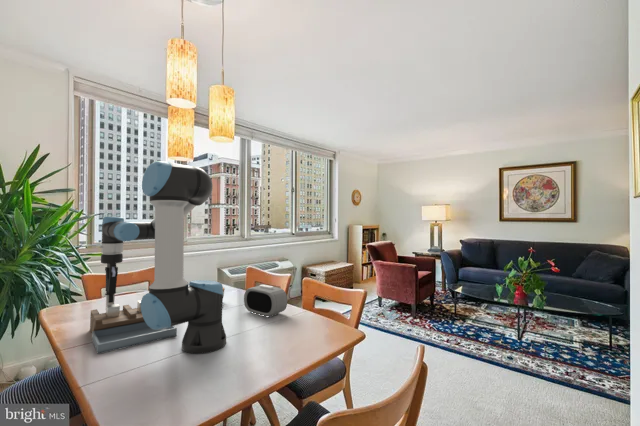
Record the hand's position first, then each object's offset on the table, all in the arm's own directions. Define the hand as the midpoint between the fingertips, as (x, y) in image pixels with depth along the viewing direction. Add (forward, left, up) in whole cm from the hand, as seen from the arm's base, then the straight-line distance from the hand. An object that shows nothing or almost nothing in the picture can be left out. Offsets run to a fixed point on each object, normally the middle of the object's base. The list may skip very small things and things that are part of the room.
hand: (109, 309), depth 126 cm
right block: (-7, -11, -1) cm, 13 cm away
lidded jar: (+7, -48, -7) cm, 49 cm away
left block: (-7, 0, -1) cm, 7 cm away
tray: (-20, -5, -7) cm, 22 cm away
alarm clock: (-25, -60, -7) cm, 65 cm away
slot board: (-8, -5, -7) cm, 12 cm away
